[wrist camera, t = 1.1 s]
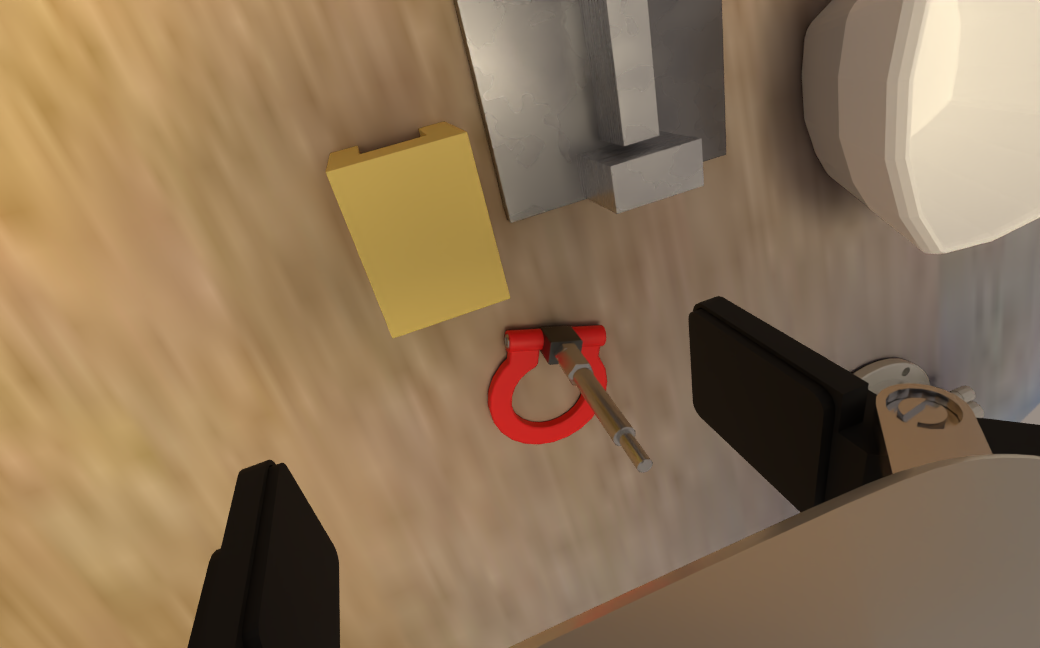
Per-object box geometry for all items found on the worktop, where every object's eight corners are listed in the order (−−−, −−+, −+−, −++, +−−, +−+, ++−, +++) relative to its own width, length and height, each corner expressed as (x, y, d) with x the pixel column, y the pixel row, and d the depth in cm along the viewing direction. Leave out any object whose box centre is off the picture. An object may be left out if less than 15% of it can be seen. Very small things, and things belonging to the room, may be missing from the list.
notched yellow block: (444, 121, 27) (466, 132, 22) (482, 261, 31) (510, 298, 26) (329, 153, 26) (325, 172, 21) (384, 293, 30) (392, 338, 25)
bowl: (992, 126, 38) (1168, 140, 30) (790, 254, 37) (913, 303, 29) (995, -170, 29) (1247, -265, 21) (730, -8, 29) (882, -41, 20)
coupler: (703, -246, 24) (786, -321, 19) (718, 152, 32) (778, 165, 28) (406, -192, 22) (422, -263, 17) (507, 219, 30) (535, 244, 26)
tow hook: (591, 428, 39) (611, 318, 35) (683, 574, 29) (728, 441, 24) (483, 440, 37) (490, 325, 33) (538, 606, 26) (560, 465, 22)
